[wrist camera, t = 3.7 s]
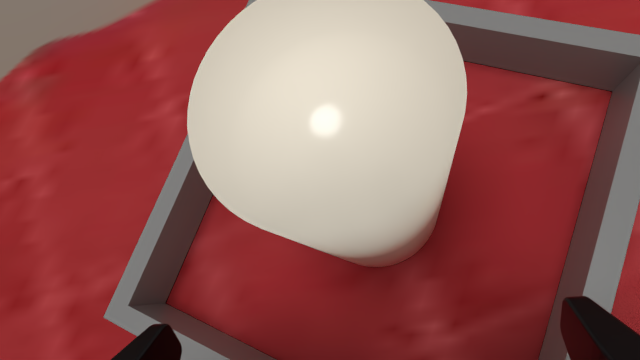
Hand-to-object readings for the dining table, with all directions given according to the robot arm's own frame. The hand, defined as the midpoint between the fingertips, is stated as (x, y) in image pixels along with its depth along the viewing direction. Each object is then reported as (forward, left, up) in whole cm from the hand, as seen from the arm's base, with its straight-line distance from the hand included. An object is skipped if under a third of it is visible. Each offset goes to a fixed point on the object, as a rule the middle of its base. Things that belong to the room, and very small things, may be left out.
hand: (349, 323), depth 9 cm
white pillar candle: (+2, -5, -11) cm, 12 cm away
